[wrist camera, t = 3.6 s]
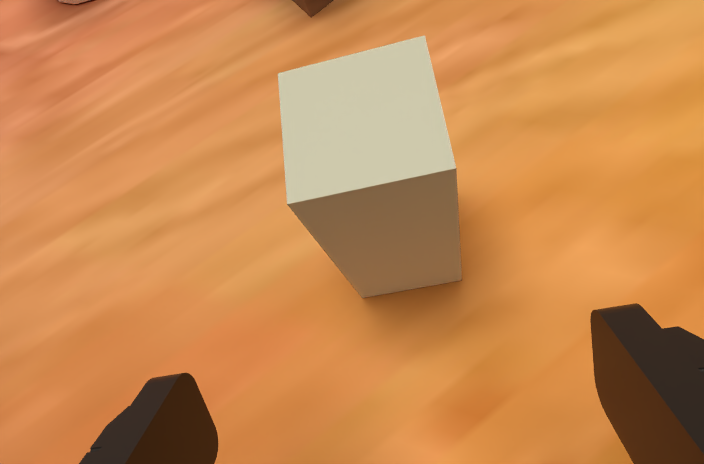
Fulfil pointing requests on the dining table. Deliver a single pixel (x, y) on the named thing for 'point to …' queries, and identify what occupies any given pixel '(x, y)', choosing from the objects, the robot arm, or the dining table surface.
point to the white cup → (73, 1)
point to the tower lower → (312, 5)
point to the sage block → (373, 167)
